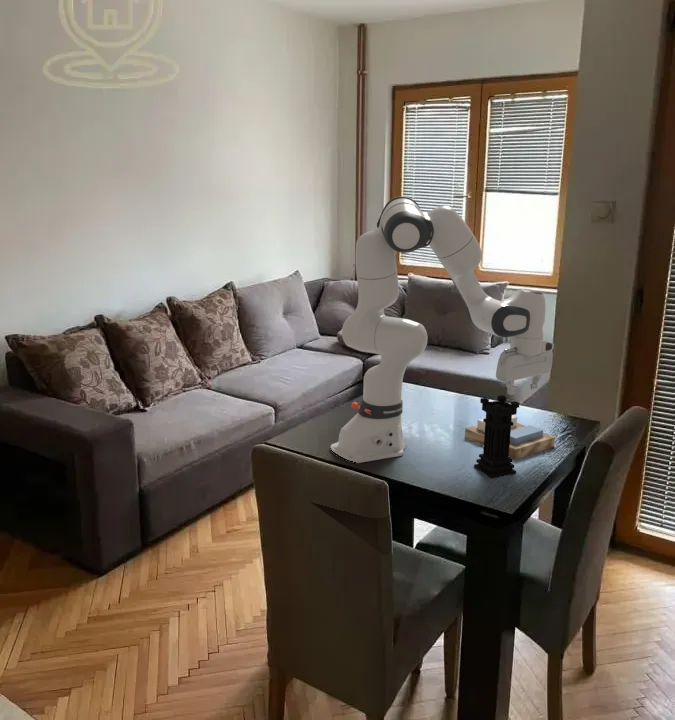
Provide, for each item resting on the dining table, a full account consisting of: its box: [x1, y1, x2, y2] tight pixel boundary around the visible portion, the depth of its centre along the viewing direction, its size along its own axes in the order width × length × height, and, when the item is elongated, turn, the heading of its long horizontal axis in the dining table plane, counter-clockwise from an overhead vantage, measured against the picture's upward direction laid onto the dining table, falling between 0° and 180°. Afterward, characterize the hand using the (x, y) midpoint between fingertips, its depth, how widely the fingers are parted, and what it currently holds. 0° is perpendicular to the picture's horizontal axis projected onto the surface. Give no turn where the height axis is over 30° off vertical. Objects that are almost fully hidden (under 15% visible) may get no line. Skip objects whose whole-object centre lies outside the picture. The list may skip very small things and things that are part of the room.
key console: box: [464, 422, 556, 460], centre depth 205 cm, size 17×20×3 cm
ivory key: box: [476, 415, 518, 432], centre depth 208 cm, size 12×5×3 cm, turn 125°
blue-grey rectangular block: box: [510, 425, 544, 445], centre depth 200 cm, size 12×5×3 cm, turn 125°
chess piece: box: [473, 395, 520, 479], centre depth 182 cm, size 8×8×20 cm
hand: (522, 391), depth 198 cm, fingers open, 8 cm apart
